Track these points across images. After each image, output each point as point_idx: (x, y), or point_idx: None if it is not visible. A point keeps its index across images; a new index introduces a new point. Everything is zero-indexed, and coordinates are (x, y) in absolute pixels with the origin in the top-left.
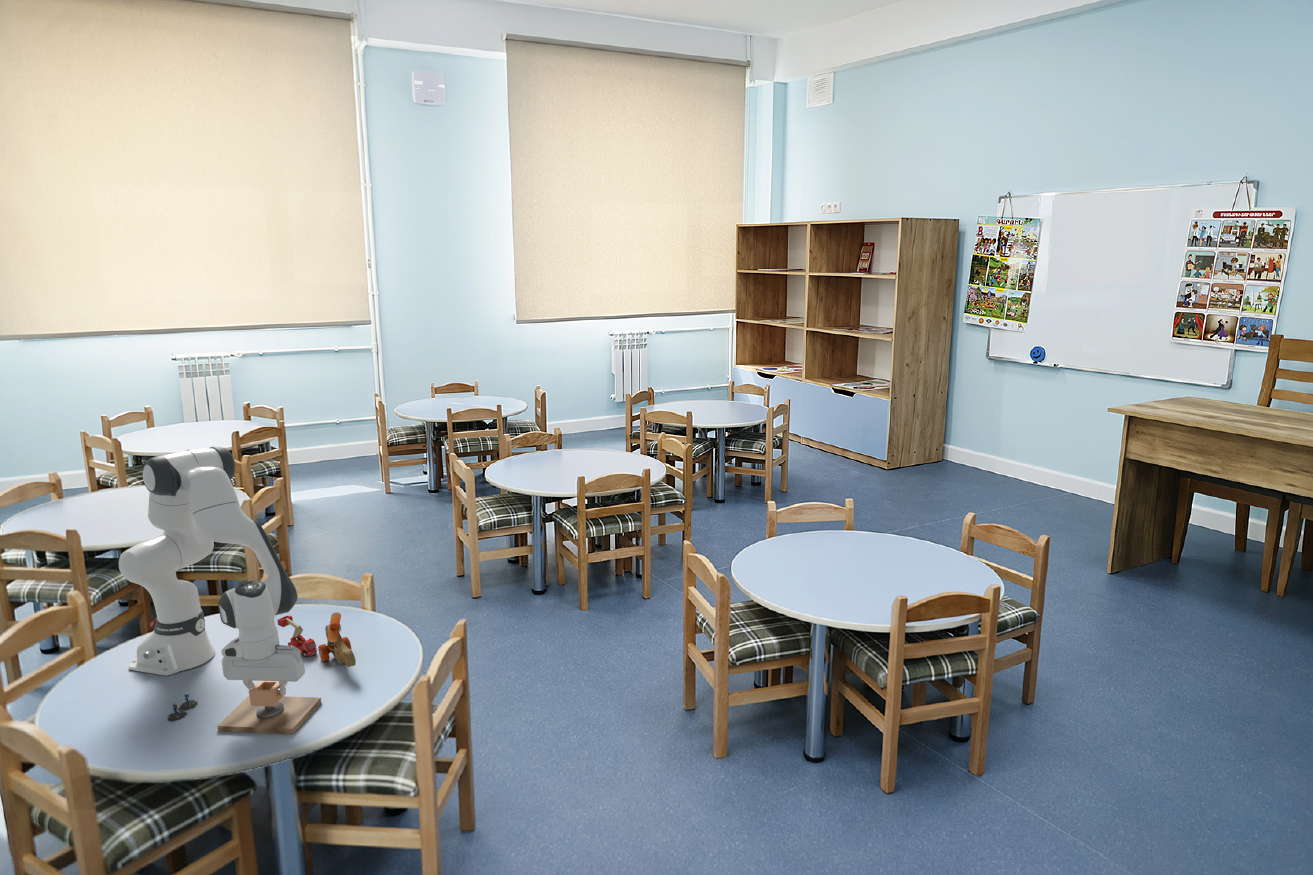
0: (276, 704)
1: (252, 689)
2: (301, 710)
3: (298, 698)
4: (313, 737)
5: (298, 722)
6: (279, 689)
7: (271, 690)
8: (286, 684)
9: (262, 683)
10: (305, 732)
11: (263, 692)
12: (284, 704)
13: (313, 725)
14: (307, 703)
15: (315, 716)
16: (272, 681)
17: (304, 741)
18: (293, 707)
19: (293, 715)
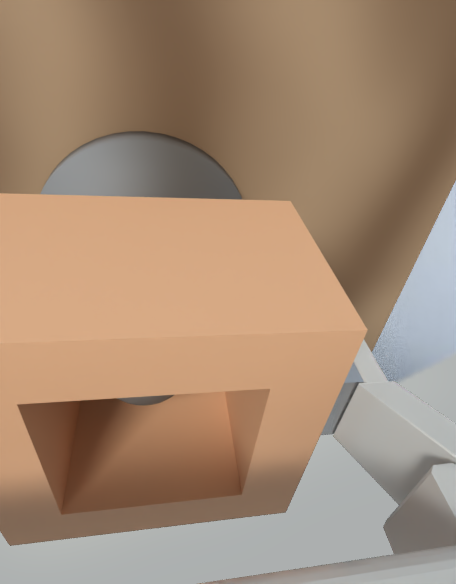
0: (171, 190)
1: (16, 522)
2: (386, 215)
3: (321, 8)
4: (444, 349)
5: (385, 320)
6: (341, 443)
7: (276, 498)
8: (423, 408)
9: (28, 424)
10: (407, 326)
11: (198, 518)
12: (217, 131)
13: (442, 278)
14: (422, 115)
15: (451, 199)
16: (179, 383)
17: (409, 370)
18: (315, 177)
19: (342, 269)
